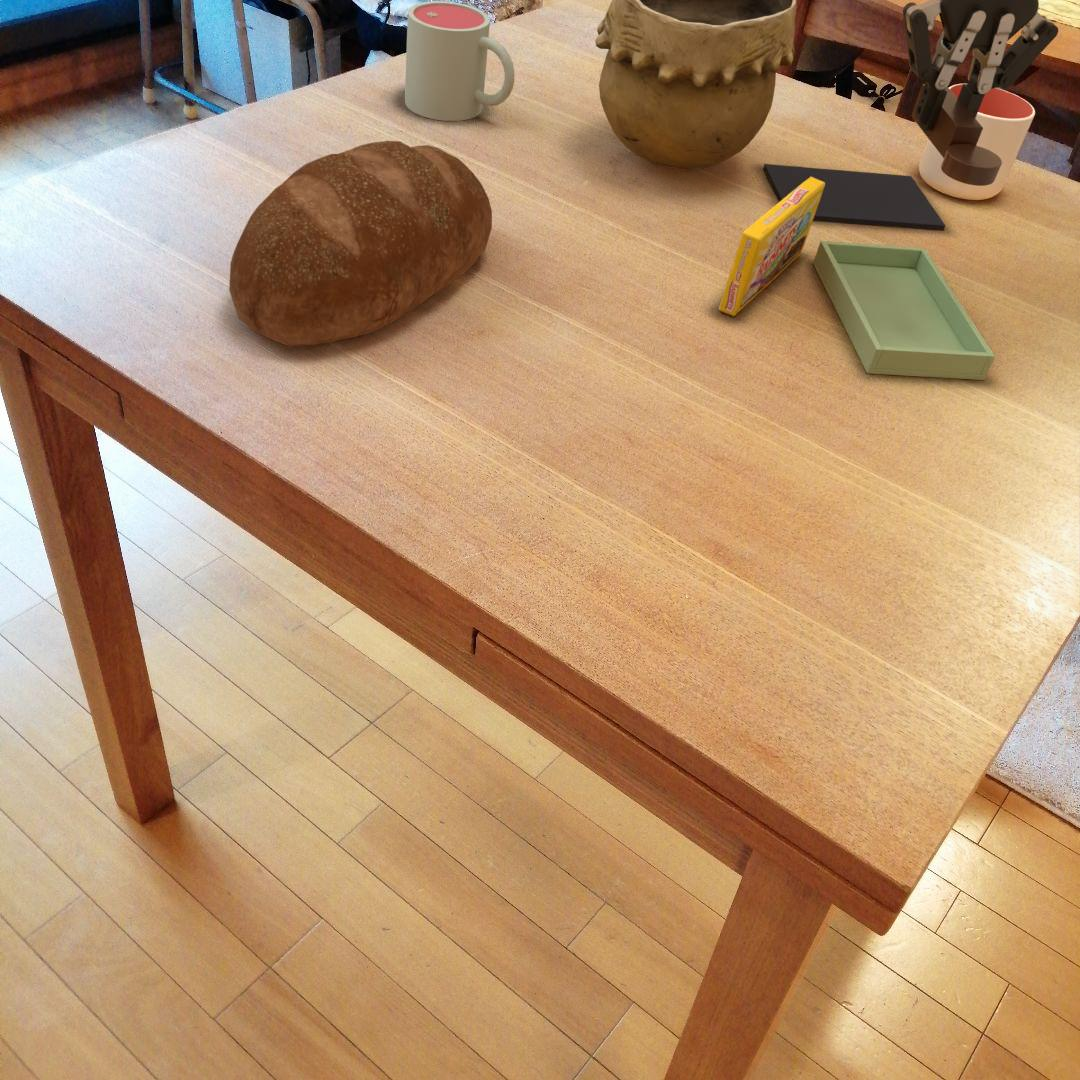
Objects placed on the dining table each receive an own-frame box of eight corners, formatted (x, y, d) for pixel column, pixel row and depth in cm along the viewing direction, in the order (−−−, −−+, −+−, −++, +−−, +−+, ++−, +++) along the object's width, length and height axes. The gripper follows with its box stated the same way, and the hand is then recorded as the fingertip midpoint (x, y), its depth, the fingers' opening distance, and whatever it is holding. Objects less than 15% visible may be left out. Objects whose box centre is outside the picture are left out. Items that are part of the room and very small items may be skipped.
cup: (1016, 196, 129) (1053, 112, 122) (962, 210, 125) (998, 125, 118) (951, 160, 135) (983, 78, 128) (898, 173, 130) (928, 89, 123)
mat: (909, 180, 129) (911, 175, 128) (943, 230, 120) (945, 225, 120) (762, 168, 126) (764, 163, 126) (787, 218, 118) (788, 213, 117)
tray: (916, 270, 113) (925, 248, 111) (984, 380, 99) (995, 356, 97) (812, 263, 111) (820, 240, 109) (867, 373, 97) (876, 349, 96)
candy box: (737, 320, 101) (759, 239, 96) (716, 311, 102) (738, 230, 96) (803, 256, 112) (827, 180, 106) (784, 249, 113) (807, 173, 107)
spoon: (946, 119, 102) (958, 86, 100) (1002, 187, 92) (1017, 153, 90) (899, 115, 101) (910, 82, 99) (951, 184, 91) (965, 149, 89)
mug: (388, 103, 127) (391, 13, 120) (435, 82, 133) (439, -5, 127) (486, 141, 123) (494, 50, 116) (529, 117, 129) (539, 29, 122)
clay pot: (723, 224, 115) (773, 27, 101) (547, 162, 121) (572, -32, 107) (786, 159, 129) (837, -22, 116) (625, 106, 135) (656, -72, 121)
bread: (187, 312, 92) (172, 185, 84) (397, 195, 111) (401, 83, 103) (334, 384, 87) (332, 257, 79) (526, 249, 106) (540, 136, 99)
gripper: (954, -80, 83) (879, 141, 95) (1122, -62, 85) (1028, 153, 96) (921, -107, 88) (854, 105, 100) (1080, -89, 90) (996, 117, 102)
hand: (940, 128), depth 98 cm, fingers closed on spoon, 2 cm apart
